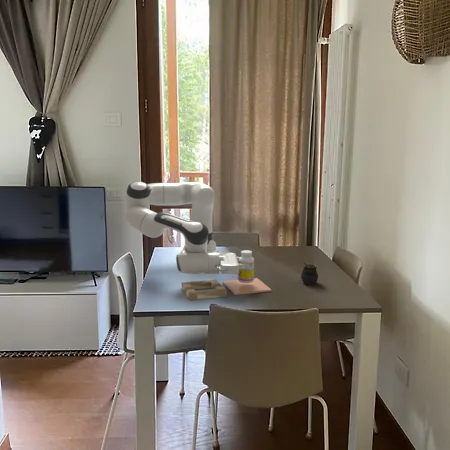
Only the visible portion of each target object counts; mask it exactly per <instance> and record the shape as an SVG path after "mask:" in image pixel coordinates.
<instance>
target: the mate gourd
mask: <svg viewBox="0 0 450 450" xmlns="http://www.w3.org/2000/svg"><path fill="white" fill-rule="evenodd" d="M300 278H301V280H302V282H303V283H304V285H315V284H316V283H317V282H318V279H319V274H318V271H317V265H316V264H314V263H305V262H303V270H302V271H301V276H300Z"/></svg>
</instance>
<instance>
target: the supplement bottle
mask: <svg viewBox="0 0 450 450" xmlns="http://www.w3.org/2000/svg"><path fill="white" fill-rule="evenodd" d="M240 255H241V256H239V257H240V258H239V260H238V264H245V263H249V265H250V267H249V268H245V269H239V273H238V274H237V276H238V277H237V280H239V281H240V282H242V283H251V282H253V281H254V278H255V258H254V257H253V256H252V255H253V251H252V250H248V249H247V250H246V249H245V250H241V251H240Z"/></svg>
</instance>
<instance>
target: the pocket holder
mask: <svg viewBox="0 0 450 450" xmlns="http://www.w3.org/2000/svg"><path fill="white" fill-rule="evenodd" d="M181 289H182V290H183V292H184V294H185V295H186V296H187V297H186V298H188V299H189V301H195V300H196V301H197V300H207V299H215V298H224V297H226V298H227V296H228V294H227V293H228V292H227V289H226V288H225V287H224V286H223V285H222V284H221V283H220V282H219V281H218V279H216V278H215V279H205V280H194V281H183V282H181Z"/></svg>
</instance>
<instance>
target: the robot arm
mask: <svg viewBox="0 0 450 450" xmlns="http://www.w3.org/2000/svg"><path fill="white" fill-rule="evenodd" d="M215 201H216V193H215V191H214V189H213V187H212V186H210V185H207V183H204V182H201V181H190V182H154V183H146V182H143V181H138V180H137V181H133V182H131V183H129V184H128V186H127V188H126V198H125V206H126V207H125V208H126V212H125V221H126V223H127V224H128V225H129V226H131V227H132V228H133V229H135V230H136V231H137V232H139V233H141V234H143V235H144V236H146V237H148V238H152V239H155V238H159V237H160V236H162V235H163V234H164V233H165V232H166V230H167V229H170V230H173V231H175V232H177V233H178V232H179V233H181V234H182V236H183V238H184V245H183V248H182V250H180V252H179V253H177V254H176V258H175V260H176V267H177V270H178V272H180V273H182V274H186V275H187V274H188V275H199V274H205V275H207V274H208V275H210V274H211V275H214V274H215V275H219V274H224V275H225V274H227V275H238V273H239V269H245V268H249V267H250V265H249V263H245V264H238V260H239V258H240V257H241V256H237V254H236V253H235V252H230V251H229V252H228V251H227V252H226V251H220V250H217V243H216V242H215V240H214V232H213V214H214V213H213V212H214V208H215ZM151 205H153V206H181V205H182V206H185V205H191V213H190V217H189V219H190V220H189V219H186V218H183V217H180V216H178V215H176V214H175V215H174V214H171V213H168V212H164V211H162V212H158V213H157V212H155V211H153V210H151V208H150V207H151Z"/></svg>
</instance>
